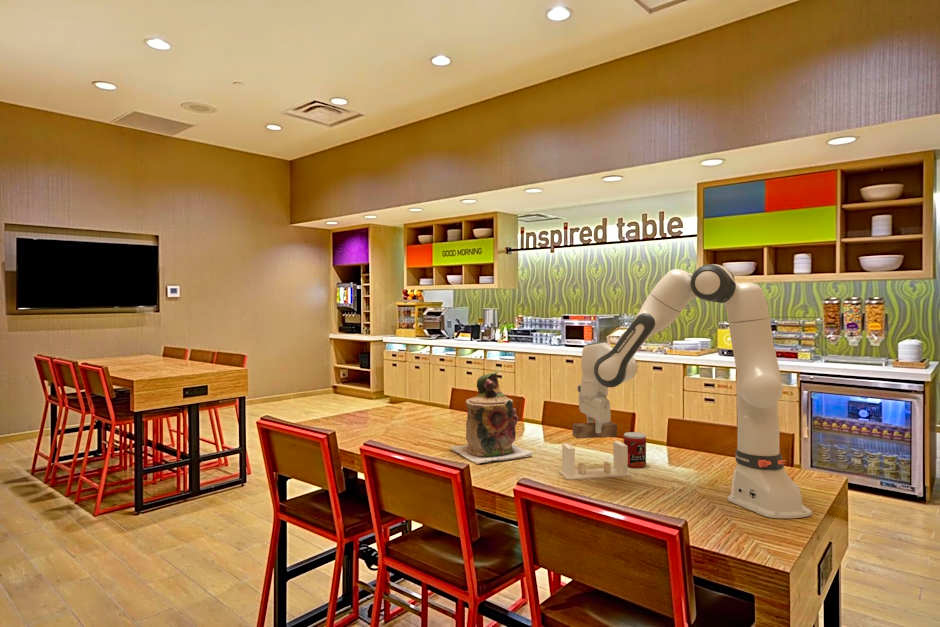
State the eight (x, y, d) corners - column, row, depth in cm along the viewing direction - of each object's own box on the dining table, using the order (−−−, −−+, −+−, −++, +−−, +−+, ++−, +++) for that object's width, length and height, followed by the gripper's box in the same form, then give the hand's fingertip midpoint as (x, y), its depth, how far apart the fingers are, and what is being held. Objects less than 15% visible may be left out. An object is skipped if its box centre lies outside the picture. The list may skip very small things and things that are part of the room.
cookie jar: (448, 450, 231) (447, 369, 230) (502, 443, 242) (502, 366, 241) (478, 466, 209) (477, 376, 208) (535, 457, 220) (535, 372, 219)
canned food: (631, 469, 204) (631, 437, 203) (619, 463, 211) (619, 432, 211) (650, 467, 206) (650, 436, 205) (638, 461, 213) (638, 431, 213)
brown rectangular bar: (576, 438, 194) (577, 426, 194) (572, 435, 199) (572, 423, 199) (617, 436, 196) (617, 425, 196) (611, 433, 201) (611, 422, 201)
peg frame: (620, 469, 204) (620, 440, 203) (630, 476, 196) (630, 446, 195) (559, 472, 200) (559, 443, 200) (567, 479, 192) (567, 449, 192)
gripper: (615, 394, 187) (615, 437, 188) (592, 385, 208) (592, 424, 208) (597, 395, 186) (596, 438, 187) (575, 385, 207) (575, 424, 207)
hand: (594, 430), depth 198 cm, fingers closed on brown rectangular bar, 4 cm apart
